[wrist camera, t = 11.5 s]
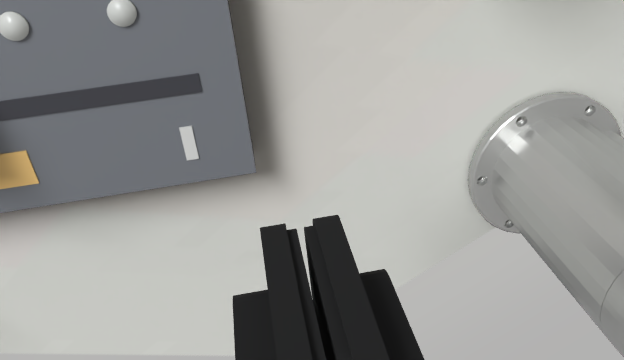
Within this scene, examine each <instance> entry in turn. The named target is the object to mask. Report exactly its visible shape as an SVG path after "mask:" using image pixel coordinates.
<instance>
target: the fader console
mask: <svg viewBox="0 0 624 360" xmlns="http://www.w3.org/2000/svg"><path fill="white" fill-rule="evenodd" d="M251 173H256V168H255V160H254V153H253V147H252V141H251V135H250V129H249V123H248V117H247V111H246V105H245V99H244V93H243V87H242V81H241V75H240V69H239V63H238V57H237V51H236V45H235V39H234V33H233V27H232V21H231V15H230V9H229V3H228V0H0V213H4V212H10V211H16V210H23V209H29V208H35V207H42V206H48V205H54V204H61V203H67V202H73V201H80V200H86V199H92V198H99V197H105V196H111V195H118V194H124V193H130V192H137V191H143V190H149V189H156V188H162V187H168V186H175V185H181V184H187V183H194V182H200V181H206V180H213V179H219V178H225V177H232V176H238V175H244V174H251Z"/></svg>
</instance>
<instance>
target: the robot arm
mask: <svg viewBox="0 0 624 360" xmlns="http://www.w3.org/2000/svg"><path fill="white" fill-rule="evenodd" d="M468 186H469V193H470V196H471V199H472V202H473V204H474V205H475V207H476V208H477V210H478V211H479V213H480V214H481V215H482V216H483V217H484V218H485V220H486V221H488V222H489V223H490V224H492V225H493V226H495V227H497V228H499V229H501V230H504V231H507V232H513V233H521V234H522V235H523V236H524V237H525V239H526V240H527V241H528V242H529V243H530V245H531V246H532V247H533V248H534V249H535V251H536V252H537V253H538V254H539V256H540V257H541V258H542V259H543V261H544V262H545V263H546V264H547V265H548V267H549V268H550V269H551V270H552V271H553V273H554V274H555V275H556V276H557V278H558V279H559V280H560V281H561V282H562V283H563V285H564V286H565V287H566V288H567V290H568V291H569V292H570V293H571V295H572V296H573V297H574V298H575V299H576V301H577V302H578V303H579V304H580V306H581V307H582V308H583V309H584V310H585V312H586V313H587V314H588V315H589V316H590V318H591V319H592V320H593V321H594V322H595V324H596V325H597V326H598V327H599V329H600V330H601V331H602V332H603V333H604V335H605V336H606V337H607V338H608V340H609V341H610V342H611V343H612V344H613V345H614V347H615V348H616V349H617V350H618V351H619V353H620V354H621V355H622V356H623V357H624V138H622V137H621V132H620V128H619V126H618V123H617V121H616V119H615V118H614V116H613V115H612V114H611V112H610V111H609V110H608V109H607V108H605V107H604V106H603V105H601V104H600V103H598V102H597V101H595V100H593V99H591V98H589V97H588V96H585V95H581V94H577V93H568V92H558V93H551V94H545V95H542V96H539V97H536V98H533V99H530V100H528V101H526V102H524V103H522V104H520V105H518V106H516V107H515V108H513V109H512V110H510V111H509V112H508V113H506V114H505V115H504V116H502V117H501V118H500V119H499V120H498V121H497V122H496V123H495V124H494V125H493V126H492V127H491V128H490V129H489V130H488V132H487V133H486V134H485V136H484V137H483V138H482V140H481V141H480V143H479V145H478V147H477V149H476V151H475V153H474V155H473V158H472V161H471V164H470V167H469V175H468ZM260 232H261V240H262V248H263V255H264V263H265V271H266V279H267V286H268V290H263V291H258V292H252V293H246V294H241V295H235V296H233V317H234V339H235V358H236V360H424V358H423V355H422V353H421V351H420V348H419V346H418V343H417V341H416V339H415V336H414V334H413V332H412V329H411V327H410V325H409V322H408V320H407V318H406V315H405V313H404V310H403V308H402V306H401V303H400V301H399V299H398V296H397V294H396V292H395V289H394V287H393V284H392V282H391V280H390V277H389V275H388V273H387V271H386V270H385V269H382V270H377V271H371V272H365V273H360V274H359V272H358V269H357V266H356V263H355V260H354V258H353V255H352V252H351V249H350V246H349V243H348V241H347V238H346V235H345V232H344V229H343V226H342V224H341V221H340V218H339V216H338V215H334V216H328V217H322V218H316V219H313V226H309V227H304V233H305V241H306V249H307V258H308V266H309V274H310V282H311V290H312V295H311V291H310V287H309V282H308V278H307V273H306V269H305V265H304V260H303V256H302V251H301V247H300V243H299V238H298V234H297V230H296V229H291V230H286V225H285V224H280V225H274V226H268V227H262V228H260ZM312 298H313V300H312Z"/></svg>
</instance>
